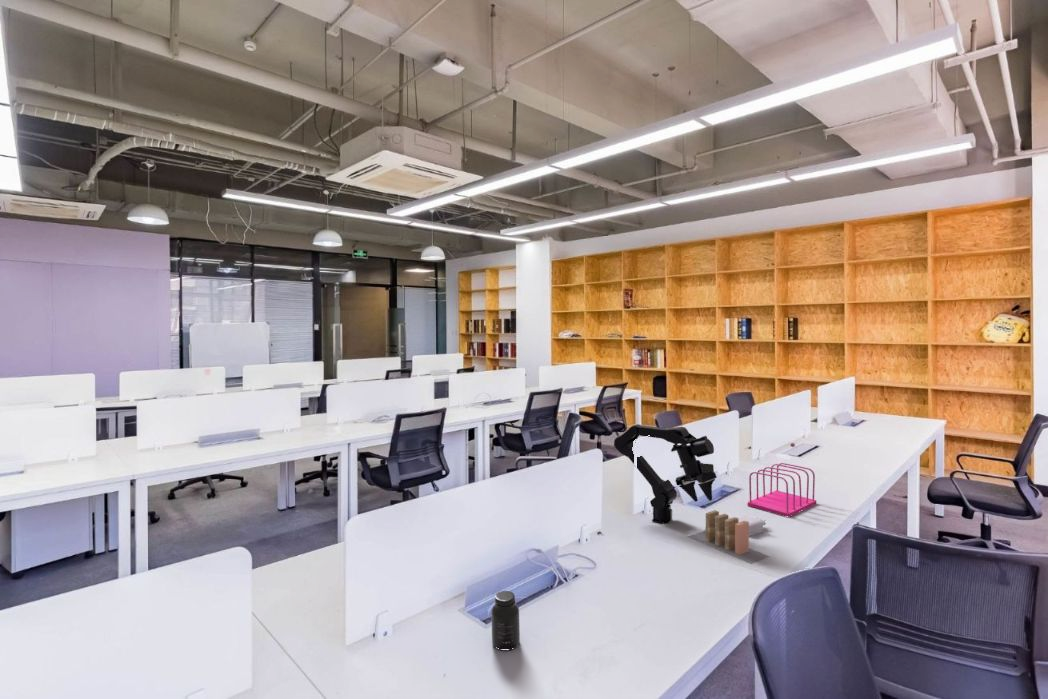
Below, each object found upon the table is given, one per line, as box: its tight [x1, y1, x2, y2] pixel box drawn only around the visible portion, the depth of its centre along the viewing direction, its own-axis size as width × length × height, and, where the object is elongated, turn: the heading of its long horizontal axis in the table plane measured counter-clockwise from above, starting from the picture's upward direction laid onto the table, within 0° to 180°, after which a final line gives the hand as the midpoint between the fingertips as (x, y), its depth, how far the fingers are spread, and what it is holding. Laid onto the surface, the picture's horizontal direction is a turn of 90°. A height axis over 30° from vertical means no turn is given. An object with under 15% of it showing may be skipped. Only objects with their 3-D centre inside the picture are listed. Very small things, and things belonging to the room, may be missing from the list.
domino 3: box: [725, 516, 738, 550], centre depth 178 cm, size 2×5×10 cm, turn 121°
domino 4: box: [735, 521, 750, 555], centre depth 175 cm, size 2×5×10 cm, turn 121°
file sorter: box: [747, 462, 817, 518], centre depth 221 cm, size 17×25×16 cm
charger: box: [728, 514, 767, 537], centre depth 195 cm, size 5×9×15 cm
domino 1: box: [705, 510, 720, 542], centre depth 185 cm, size 2×5×10 cm, turn 121°
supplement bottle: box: [490, 590, 521, 650], centre depth 127 cm, size 7×7×12 cm
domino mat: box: [686, 530, 771, 565], centre depth 180 cm, size 26×10×1 cm, turn 31°
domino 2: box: [715, 513, 729, 546], centre depth 182 cm, size 2×5×10 cm, turn 121°
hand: (703, 500), depth 194 cm, fingers open, 9 cm apart
